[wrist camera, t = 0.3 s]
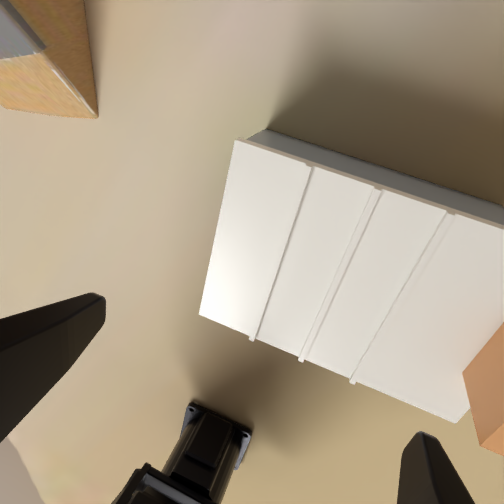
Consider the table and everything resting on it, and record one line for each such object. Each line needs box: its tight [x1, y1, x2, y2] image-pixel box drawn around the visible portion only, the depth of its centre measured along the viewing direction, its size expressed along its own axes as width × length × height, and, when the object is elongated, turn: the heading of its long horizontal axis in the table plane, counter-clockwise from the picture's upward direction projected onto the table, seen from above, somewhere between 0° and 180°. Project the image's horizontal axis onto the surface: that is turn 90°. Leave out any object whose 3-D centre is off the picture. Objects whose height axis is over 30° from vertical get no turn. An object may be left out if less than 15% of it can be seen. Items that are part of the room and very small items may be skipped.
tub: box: [246, 129, 504, 225], centre depth 20 cm, size 10×13×4 cm
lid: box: [199, 137, 504, 456], centre depth 16 cm, size 11×15×5 cm
